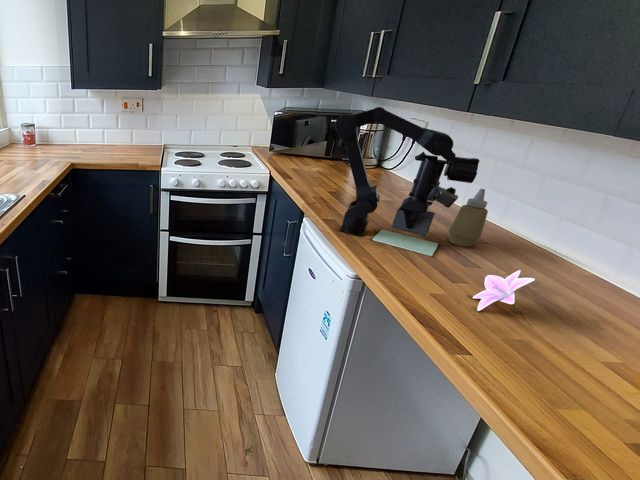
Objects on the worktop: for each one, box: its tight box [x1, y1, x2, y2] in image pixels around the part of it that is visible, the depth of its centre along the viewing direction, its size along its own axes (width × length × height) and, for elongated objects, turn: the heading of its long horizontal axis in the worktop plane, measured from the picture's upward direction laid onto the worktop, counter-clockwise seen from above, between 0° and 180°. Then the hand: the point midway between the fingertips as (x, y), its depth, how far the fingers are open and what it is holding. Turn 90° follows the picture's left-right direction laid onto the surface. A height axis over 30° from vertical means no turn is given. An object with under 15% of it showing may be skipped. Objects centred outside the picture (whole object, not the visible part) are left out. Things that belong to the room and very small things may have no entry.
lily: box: [472, 269, 536, 313], centre depth 92 cm, size 12×12×10 cm
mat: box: [372, 228, 439, 257], centre depth 127 cm, size 16×12×1 cm
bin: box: [390, 204, 436, 237], centre depth 124 cm, size 9×6×6 cm
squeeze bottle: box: [448, 188, 489, 248], centre depth 124 cm, size 8×8×18 cm
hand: (410, 225), depth 125 cm, fingers closed on bin, 6 cm apart
